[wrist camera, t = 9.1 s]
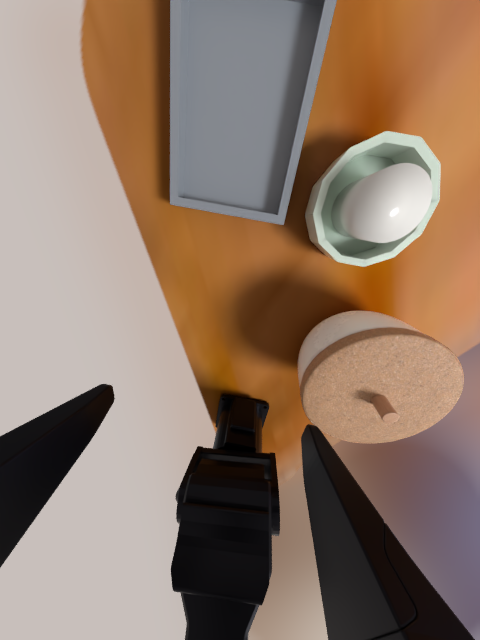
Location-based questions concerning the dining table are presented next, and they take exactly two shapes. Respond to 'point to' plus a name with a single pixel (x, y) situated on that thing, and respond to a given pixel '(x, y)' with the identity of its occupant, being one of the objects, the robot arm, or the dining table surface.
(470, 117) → the dining table surface
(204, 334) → the dining table surface
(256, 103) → the parts tray
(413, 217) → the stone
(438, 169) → the bowl
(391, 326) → the lidded jar
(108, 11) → the dining table surface
